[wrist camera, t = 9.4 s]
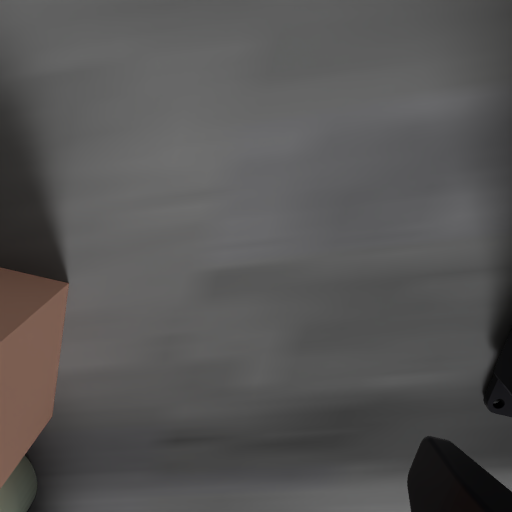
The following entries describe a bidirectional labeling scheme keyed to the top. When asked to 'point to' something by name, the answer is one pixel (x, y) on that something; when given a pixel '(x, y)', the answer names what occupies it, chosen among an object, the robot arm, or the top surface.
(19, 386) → the tea box
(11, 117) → the top surface
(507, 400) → the robot arm
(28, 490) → the spice jar
